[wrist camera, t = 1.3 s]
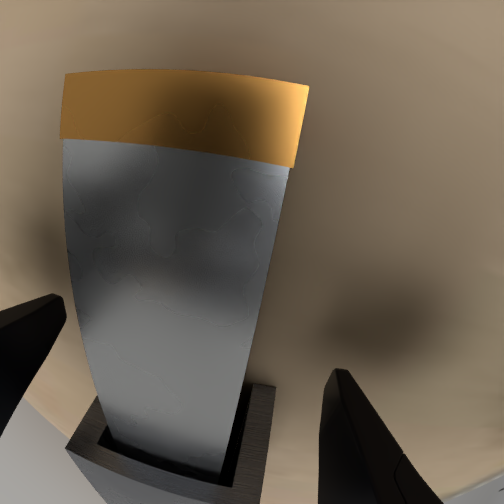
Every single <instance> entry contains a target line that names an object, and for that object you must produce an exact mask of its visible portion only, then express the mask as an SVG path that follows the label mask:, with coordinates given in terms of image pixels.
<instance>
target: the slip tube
mask: <svg viewBox="0 0 504 504" xmlns="http://www.w3.org/2000/svg"><path fill="white" fill-rule="evenodd" d="M308 91H309V86H306V85H301V84H296V83H290V82H285V81H279V80H273V79H267V78H260V77H253V76H246V75H238V74H229V73H219V72H207V71H192V70H169V69H127V70H105V71H91V72H79V73H70V74H66V75H65V82H64V91H63V100H62V111H61V125H60V139H63V202H64V220H65V232H66V243H67V253H68V261H69V269H70V276H71V283H72V289H73V295H74V301H75V306H76V311H77V317H78V321H79V326H80V331H81V335H82V340H83V344H84V348H85V352H86V356H87V360H88V363H89V367H90V371H91V374H92V378H93V381H94V385H95V388H96V391H97V394H98V397H99V401H100V404H101V407H102V409H103V412H104V415H105V418H106V421H107V424H108V426H109V429H110V432H111V434H112V437H113V439H114V442H115V444H116V447H117V449H118V452H119V454H120V455H123V456H125V457H128V458H131V459H133V460H136V461H138V462H141V463H144V464H147V465H150V466H152V467H155V468H158V469H161V470H164V471H168V472H171V473H174V474H177V475H181V476H184V477H188V478H191V479H195V480H199V481H203V482H207V483H211V484H215V485H218V481H219V477H220V473H221V469H222V465H223V461H224V457H225V453H226V449H227V445H228V441H229V437H230V433H231V429H232V425H233V421H234V417H235V413H236V408H237V404H238V400H239V396H240V392H241V388H242V383H243V379H244V375H245V371H246V366H247V362H248V358H249V354H250V349H251V345H252V341H253V336H254V332H255V327H256V323H257V319H258V314H259V310H260V305H261V301H262V296H263V292H264V287H265V283H266V278H267V274H268V269H269V264H270V260H271V255H272V250H273V246H274V241H275V236H276V232H277V227H278V222H279V217H280V213H281V208H282V203H283V198H284V193H285V188H286V184H287V179H288V174H289V169H290V168H293V167H294V162H295V157H296V152H297V147H298V142H299V137H300V132H301V127H302V122H303V117H304V112H305V106H306V101H307V96H308Z"/></svg>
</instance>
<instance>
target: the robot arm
mask: <svg viewBox="0 0 504 504" xmlns="http://www.w3.org/2000/svg"><path fill="white" fill-rule="evenodd" d="M66 318H67V315H66V310H65V305H64V300H63V298H62V297H61V296H59V295H56V294H53V293H52V294H49V295H46V296H43V297H40V298H37V299H34V300H31V301H28V302H25V303H22V304H19V305H16V306H14V307H11V308H8V309H5V310H2V311H0V437H1V435H2V433H3V431H4V429H5V427H6V425H7V423H8V422H9V420H10V418H11V416H12V414H13V412H14V411H15V409H16V407H17V405H18V404H19V402H20V400H21V398H22V397H23V395H24V393H25V392H26V390H27V388H28V386H29V385H30V383H31V381H32V380H33V378H34V377H35V375H36V373H37V372H38V370H39V369H40V367H41V365H42V364H43V362H44V361H45V359H46V357H47V356H48V354H49V352H50V350H51V348H52V346H53V345H54V343H55V341H56V339H57V337H58V335H59V333H60V331H61V329H62V328H63V326H64V324H65V322H66ZM318 504H444V503H443V502H442V501H441V500H440V499H439V498H438V496H437V495H436V494H435V493H434V492H433V491H432V489H431V488H430V487H429V486H428V485H427V483H426V482H425V481H424V480H423V478H422V477H421V476H420V475H419V473H418V472H417V471H416V469H415V468H414V466H413V465H412V464H411V462H410V461H409V459H408V458H407V456H406V455H405V454H403V450H402V449H401V447H400V446H399V444H398V443H397V441H396V440H395V438H394V437H393V436H392V434H391V433H390V431H389V430H388V428H387V427H386V425H385V424H384V422H383V421H382V419H381V418H380V416H379V415H378V413H377V412H376V410H375V409H374V407H373V406H372V405H371V403H370V402H369V400H368V399H367V397H366V396H365V394H364V393H363V391H362V390H361V388H360V387H359V386H358V384H357V383H356V381H355V380H354V378H353V377H352V375H351V374H350V372H349V371H348V370H346V369H339V368H335V369H334V370H333V371H332V373H331V375H330V377H329V379H328V381H327V383H326V385H325V388H324V394H323V404H322V413H321V422H320V430H319V480H318Z"/></svg>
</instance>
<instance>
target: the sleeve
mask: <svg viewBox="0 0 504 504" xmlns="http://www.w3.org/2000/svg"><path fill="white" fill-rule="evenodd" d="M275 393H276V388H274V387H269V386H264V385H259V384H253V388H252V392H251V395H250V399H249V402H248V406H247V409H246V413H245V416H244V420H243V423H242V427H241V430H240V433H239V437H238V440H237V444H236V447H235V450H234V454H233V457H232V460H231V464H230V467H229V470H228V473H227V476H226V478H224V477H219V481H218V485H215V484H211V483H207V482H203V481H199V480H195V479H191V478H188V477H184V476H181V475H177V474H174V473H171V472H168V471H164V470H161V469H158V468H155V467H152V466H150V465H147V464H144V463H141V462H138V461H136V460H133V459H131V458H128V457H125V456H123V455H120V454H119V452H118V449H117V447H116V444H115V442H114V439H113V437H112V434H111V432H110V429H109V426H108V424H107V421H106V418H105V415H104V412H103V409H102V407H101V404H100V401H99V397H98V395H97V396H96V398H95V400H94V401H93V403H92V404H91V406H90V408H89V409H88V411H87V412H86V414H85V416H84V417H83V419H82V421H81V422H80V424H79V426H78V427H77V429H76V431H75V432H74V434H73V436H72V437H71V439H70V441H69V442H68V444H67V446H66V447H65V449H66V451H67V452H68V454H69V455H70V457H71V458H72V459H73V461H74V462H75V464H76V465H77V466H78V468H79V469H80V470H81V472H82V473H83V474H84V476H85V477H86V478H87V479H88V481H89V482H90V483H91V485H92V486H93V487H94V488H95V490H96V491H97V492H98V493H99V494H100V496H101V497H102V498H103V499H104V500H105V501H106V503H107V504H260V498H261V492H262V485H263V479H264V473H265V466H266V459H267V452H268V445H269V438H270V431H271V424H272V416H273V408H274V401H275Z"/></svg>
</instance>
